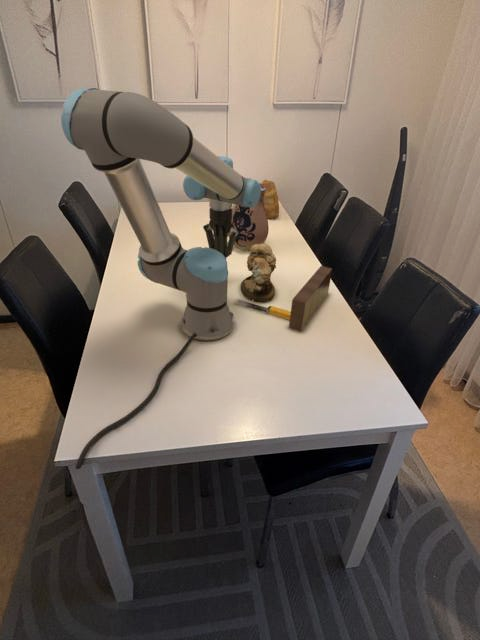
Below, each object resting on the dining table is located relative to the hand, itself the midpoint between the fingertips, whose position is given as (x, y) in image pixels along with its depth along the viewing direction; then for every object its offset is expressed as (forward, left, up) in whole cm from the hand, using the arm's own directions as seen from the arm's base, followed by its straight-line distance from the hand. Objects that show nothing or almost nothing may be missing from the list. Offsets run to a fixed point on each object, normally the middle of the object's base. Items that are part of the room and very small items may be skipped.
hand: (220, 272), depth 141 cm
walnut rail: (-3, -35, -3) cm, 36 cm away
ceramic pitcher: (+34, +6, -3) cm, 35 cm away
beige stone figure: (0, -15, -3) cm, 15 cm away
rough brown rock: (+76, +20, -3) cm, 79 cm away
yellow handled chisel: (-11, -23, -3) cm, 26 cm away
